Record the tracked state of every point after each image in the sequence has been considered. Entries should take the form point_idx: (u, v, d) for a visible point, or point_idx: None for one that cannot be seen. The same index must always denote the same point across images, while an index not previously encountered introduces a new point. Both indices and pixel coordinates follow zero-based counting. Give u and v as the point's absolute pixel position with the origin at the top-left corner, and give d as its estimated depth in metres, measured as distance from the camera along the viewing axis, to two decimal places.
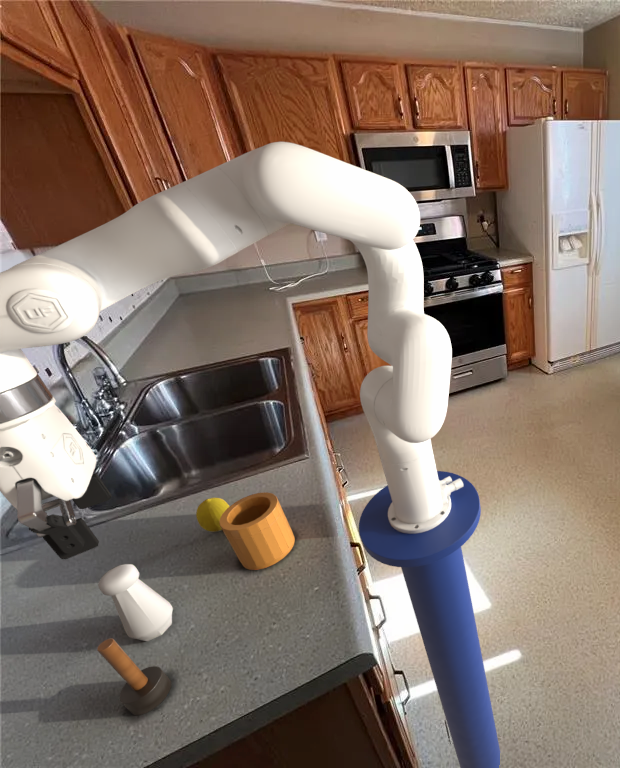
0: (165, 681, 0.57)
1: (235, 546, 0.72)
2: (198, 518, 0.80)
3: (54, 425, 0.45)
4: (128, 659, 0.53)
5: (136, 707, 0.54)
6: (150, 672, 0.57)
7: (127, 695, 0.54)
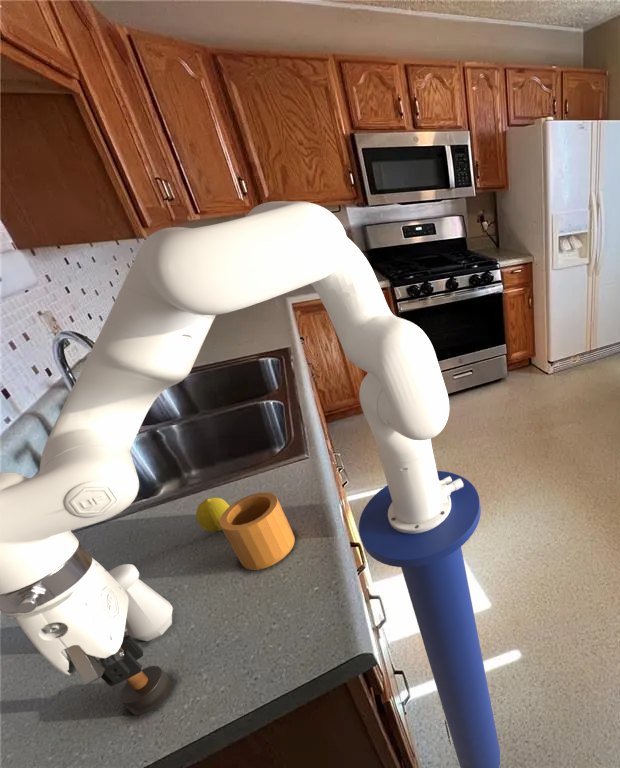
0: (165, 681, 0.57)
1: (235, 546, 0.72)
2: (198, 518, 0.80)
3: (93, 585, 0.48)
4: None
5: (137, 707, 0.54)
6: (150, 672, 0.57)
7: (128, 695, 0.54)
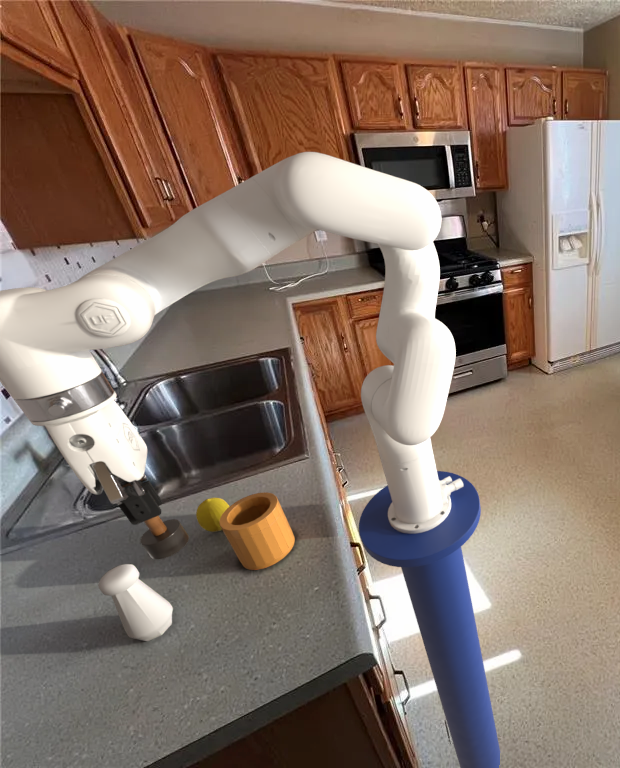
0: (183, 532, 0.59)
1: (235, 546, 0.72)
2: (198, 518, 0.80)
3: (116, 416, 0.51)
4: None
5: (157, 550, 0.57)
6: (168, 523, 0.59)
7: (148, 539, 0.57)
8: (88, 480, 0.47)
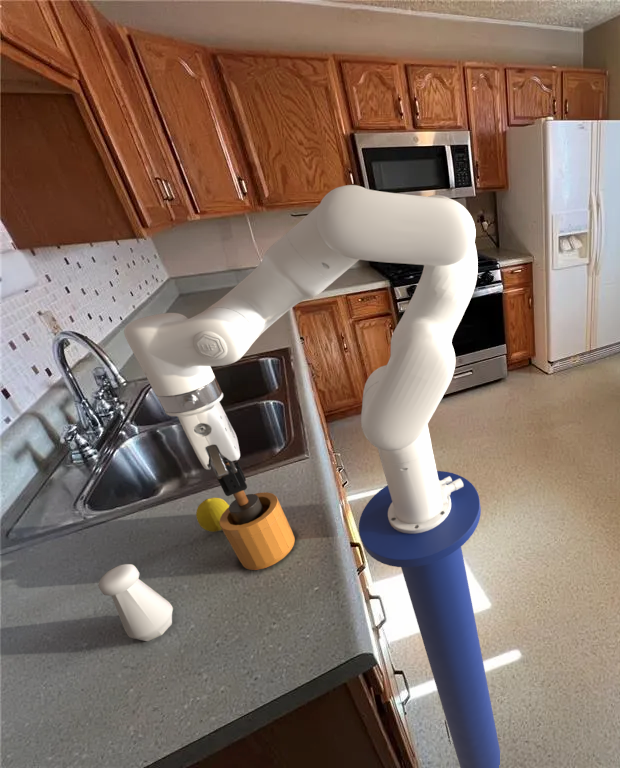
0: (260, 504, 0.74)
1: (235, 546, 0.72)
2: (198, 518, 0.80)
3: (221, 410, 0.66)
4: None
5: (242, 517, 0.72)
6: (249, 497, 0.74)
7: (235, 508, 0.72)
8: (204, 458, 0.63)
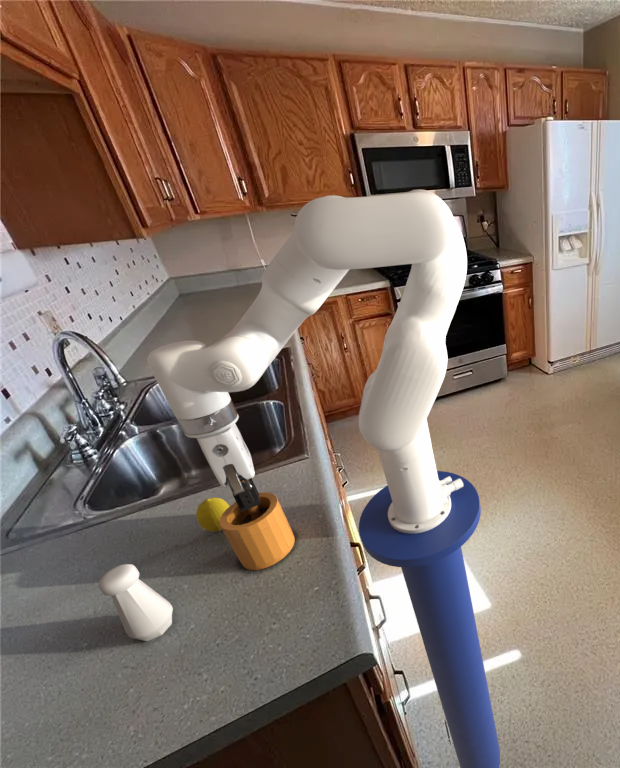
0: None
1: (235, 546, 0.72)
2: (198, 518, 0.80)
3: (237, 430, 0.69)
4: None
5: None
6: (262, 511, 0.78)
7: None
8: (221, 477, 0.66)
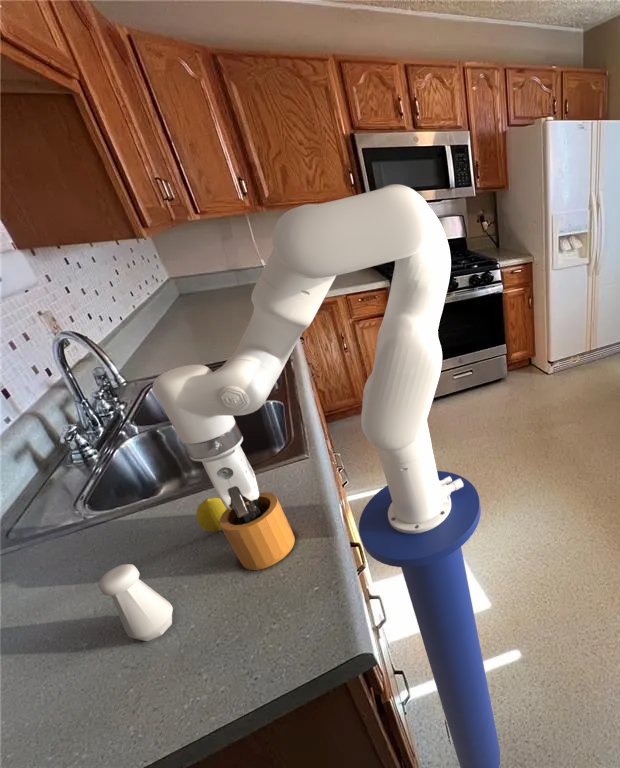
0: None
1: (235, 546, 0.72)
2: (198, 518, 0.80)
3: (241, 452, 0.70)
4: None
5: None
6: None
7: None
8: (226, 499, 0.66)
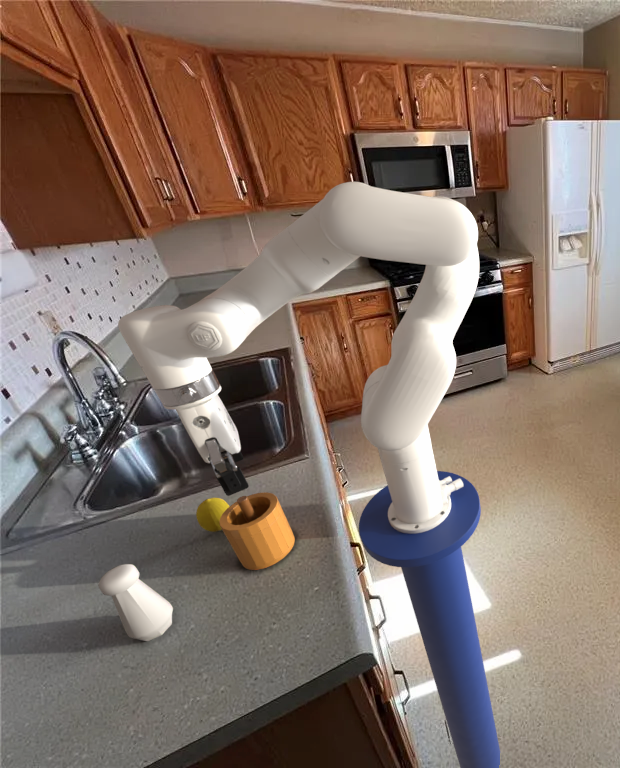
0: None
1: (235, 546, 0.72)
2: (198, 518, 0.80)
3: (220, 403, 0.65)
4: (254, 513, 0.75)
5: None
6: None
7: None
8: (204, 451, 0.62)
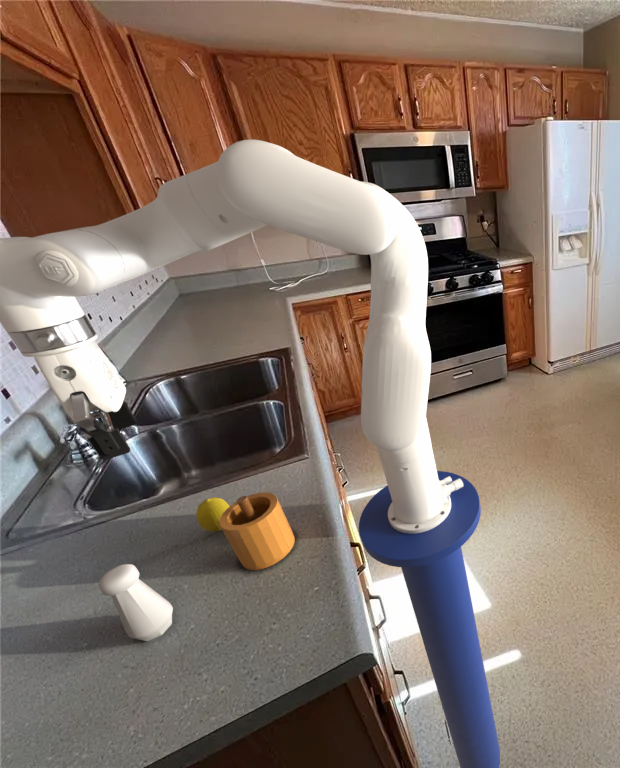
0: None
1: (235, 546, 0.72)
2: (198, 518, 0.80)
3: (97, 355, 0.58)
4: (254, 513, 0.75)
5: None
6: None
7: None
8: (70, 407, 0.55)
